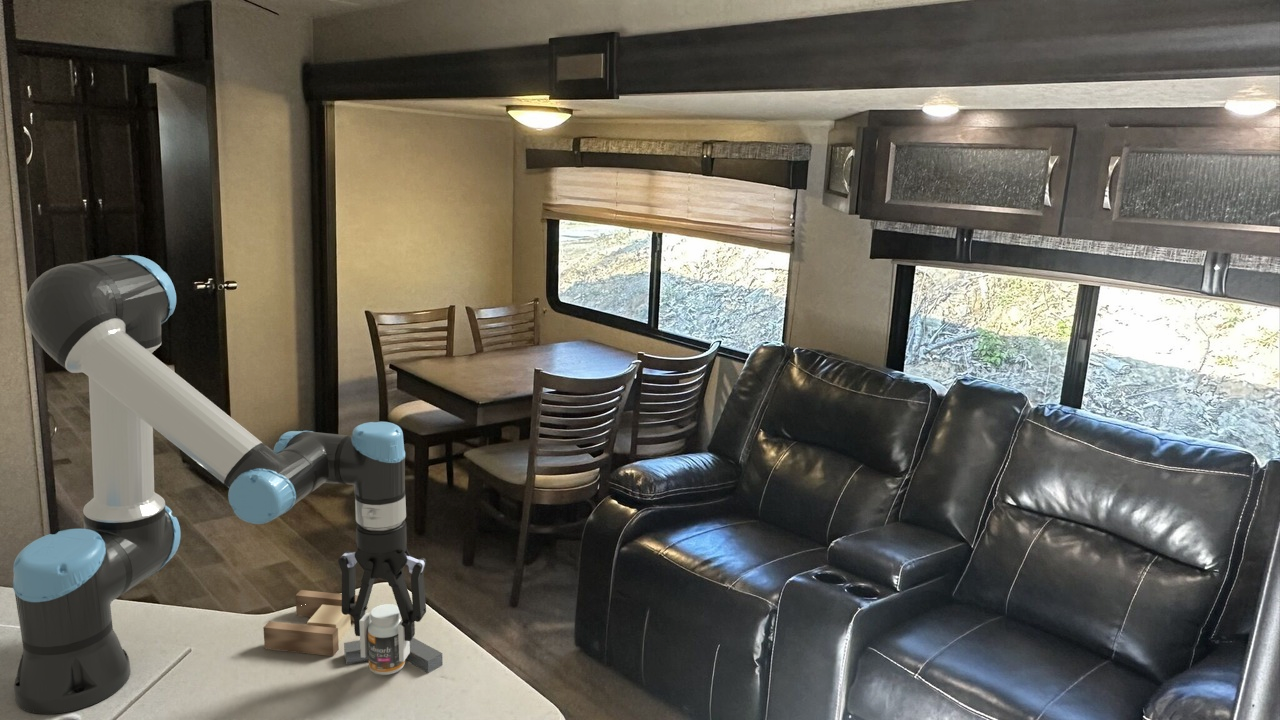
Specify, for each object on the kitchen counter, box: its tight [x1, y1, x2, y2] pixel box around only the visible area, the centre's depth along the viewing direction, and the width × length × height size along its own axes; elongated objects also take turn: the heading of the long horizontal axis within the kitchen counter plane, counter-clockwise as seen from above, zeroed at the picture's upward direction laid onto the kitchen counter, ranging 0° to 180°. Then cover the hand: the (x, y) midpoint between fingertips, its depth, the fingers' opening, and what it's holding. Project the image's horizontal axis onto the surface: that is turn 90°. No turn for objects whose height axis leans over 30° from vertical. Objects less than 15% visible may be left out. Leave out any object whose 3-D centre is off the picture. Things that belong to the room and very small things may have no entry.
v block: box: [343, 637, 444, 674], centre depth 150 cm, size 17×7×2 cm, turn 83°
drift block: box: [306, 605, 352, 643], centre depth 156 cm, size 5×6×4 cm
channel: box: [262, 589, 358, 657], centre depth 156 cm, size 12×13×4 cm
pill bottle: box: [368, 603, 406, 676], centre depth 146 cm, size 6×6×10 cm
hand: (385, 654), depth 146 cm, fingers closed on pill bottle, 6 cm apart
